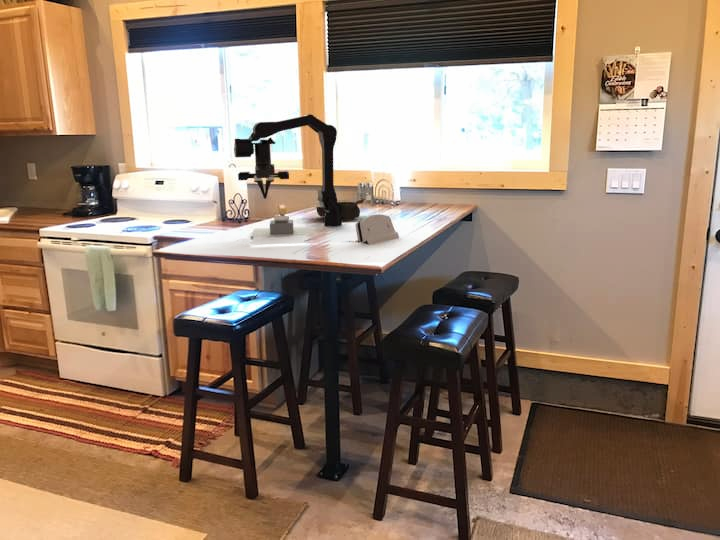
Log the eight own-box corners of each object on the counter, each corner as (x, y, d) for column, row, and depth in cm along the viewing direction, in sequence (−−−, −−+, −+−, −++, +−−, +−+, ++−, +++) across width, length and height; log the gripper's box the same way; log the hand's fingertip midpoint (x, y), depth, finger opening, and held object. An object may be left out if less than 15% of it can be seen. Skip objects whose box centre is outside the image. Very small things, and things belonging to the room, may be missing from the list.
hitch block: (316, 229, 235) (315, 208, 233) (317, 236, 218) (316, 215, 216) (254, 231, 232) (253, 210, 230) (251, 239, 216) (249, 217, 214)
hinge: (368, 244, 203) (360, 216, 203) (359, 247, 206) (351, 219, 206) (399, 237, 214) (392, 210, 214) (390, 240, 218) (383, 214, 218)
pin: (289, 230, 226) (288, 213, 224) (289, 233, 221) (288, 215, 219) (275, 231, 225) (274, 214, 224) (274, 233, 220) (273, 216, 219)
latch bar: (278, 209, 231) (278, 204, 231) (285, 209, 231) (284, 204, 231) (279, 214, 219) (279, 208, 219) (286, 213, 220) (286, 208, 219)
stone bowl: (367, 222, 249) (365, 199, 247) (307, 227, 250) (305, 205, 248) (367, 212, 273) (365, 192, 271) (313, 217, 274) (310, 197, 272)
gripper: (235, 158, 214) (238, 201, 218) (287, 157, 216) (289, 200, 219) (238, 156, 225) (241, 198, 228) (288, 155, 227) (290, 197, 230)
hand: (265, 198), depth 226 cm, fingers closed
